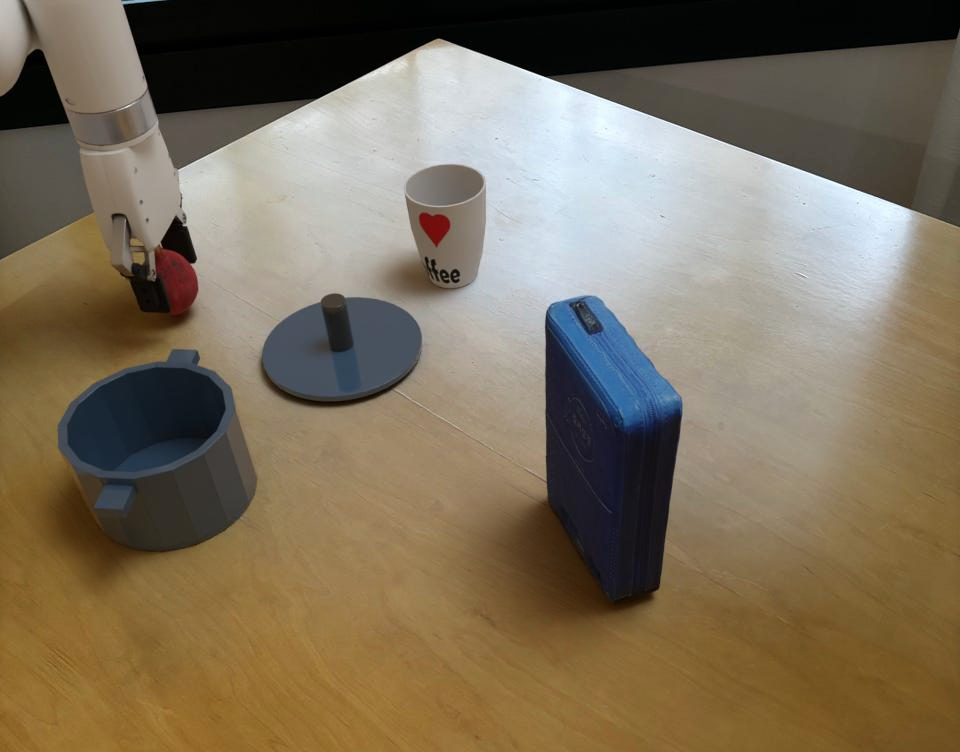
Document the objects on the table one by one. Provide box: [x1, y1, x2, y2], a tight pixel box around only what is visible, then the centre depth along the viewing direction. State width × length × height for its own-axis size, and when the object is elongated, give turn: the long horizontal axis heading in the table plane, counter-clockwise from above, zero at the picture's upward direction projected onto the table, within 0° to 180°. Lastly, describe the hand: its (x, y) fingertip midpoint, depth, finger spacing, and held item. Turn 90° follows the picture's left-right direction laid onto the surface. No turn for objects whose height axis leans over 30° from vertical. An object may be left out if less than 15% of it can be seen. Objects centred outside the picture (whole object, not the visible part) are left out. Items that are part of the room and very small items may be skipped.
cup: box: [403, 163, 487, 289], centre depth 110 cm, size 8×8×10 cm
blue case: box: [544, 294, 684, 605], centre depth 80 cm, size 14×5×20 cm, turn 21°
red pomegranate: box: [141, 243, 199, 316], centre depth 109 cm, size 6×6×8 cm
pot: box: [57, 348, 258, 552], centre depth 92 cm, size 15×20×8 cm
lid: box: [261, 292, 423, 402], centre depth 104 cm, size 16×16×6 cm
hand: (169, 285), depth 110 cm, fingers open, 7 cm apart
